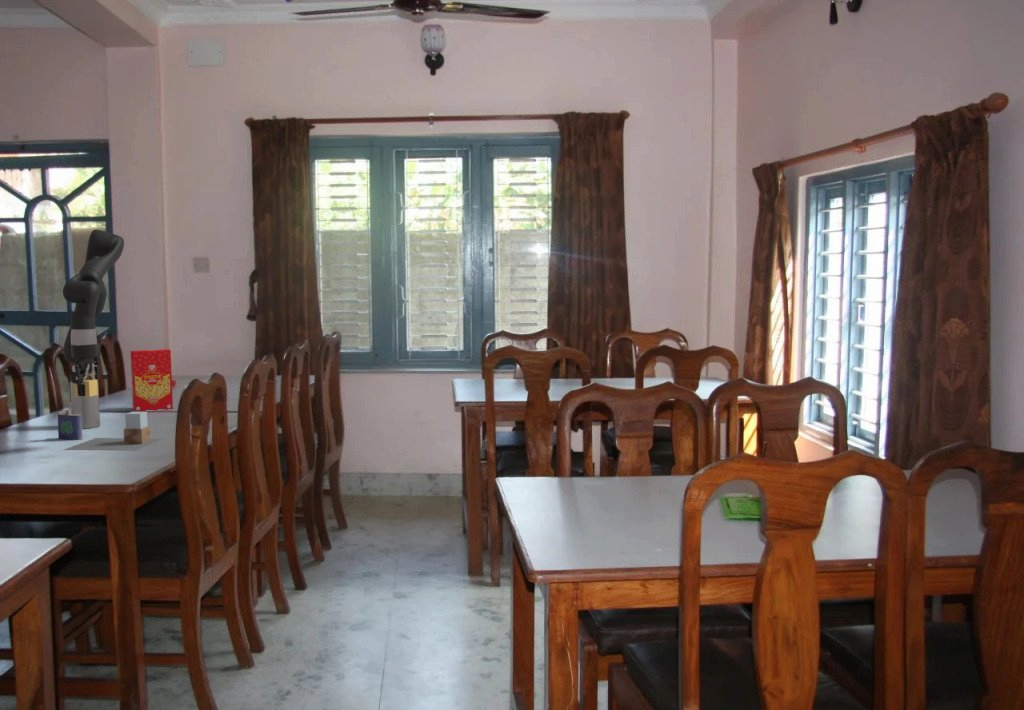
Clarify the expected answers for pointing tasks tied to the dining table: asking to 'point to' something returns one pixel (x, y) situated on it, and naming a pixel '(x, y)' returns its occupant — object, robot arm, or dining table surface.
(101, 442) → the slate mat
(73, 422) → the flask
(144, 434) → the tower base
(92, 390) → the ochre block
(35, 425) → the dining table surface
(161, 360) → the food packaging
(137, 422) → the tower mid
